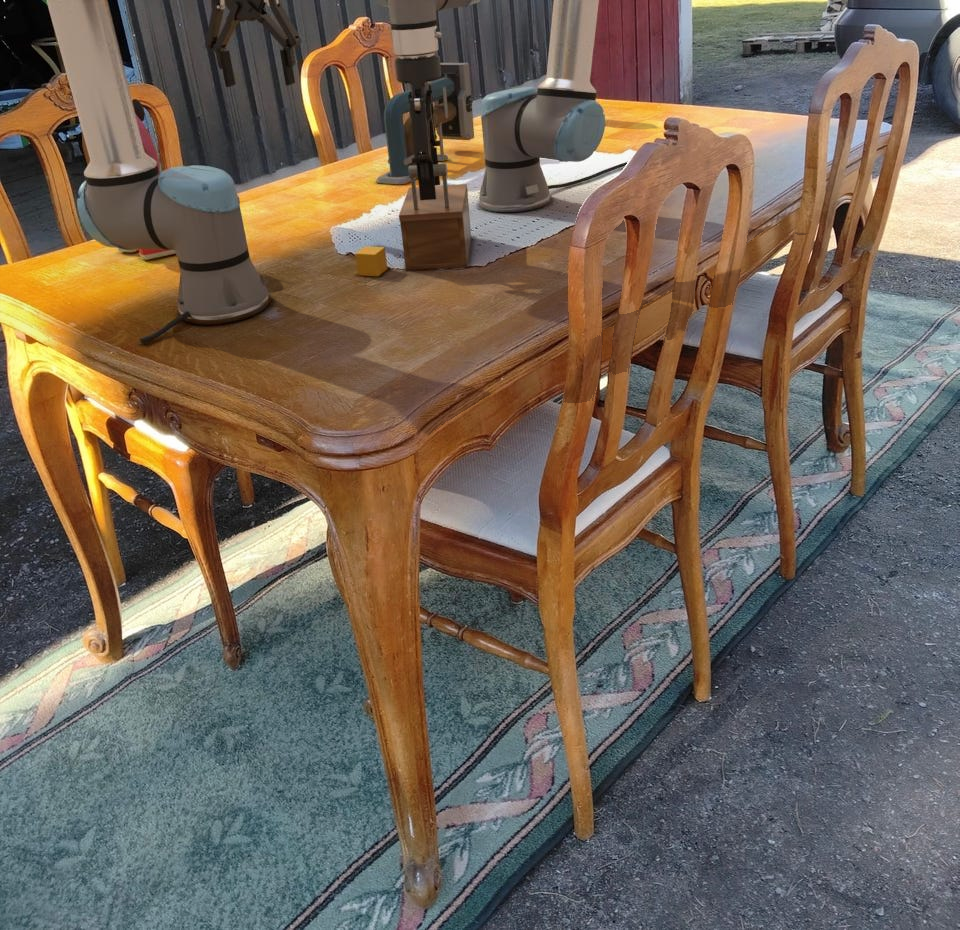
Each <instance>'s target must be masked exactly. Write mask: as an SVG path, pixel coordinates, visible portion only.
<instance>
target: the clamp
mask: <svg viewBox="0 0 960 930" xmlns="http://www.w3.org/2000/svg"><path fill="white" fill-rule="evenodd" d="M440 66H441V77H440V78H439V79H438V80H435V81H432V82H428V84H431V87H432V89H431V90H433V106H434V122H435V130H436V135H437V137H438V140H440V146H439V153H440V154H437V157H438V162H445V161H447V160H448V159H449V156H448V155H447V154H445V151H444V140H451V141H452V140H453V141H470V140H473V139H474V138H475V128H474V114H473V113H474V112H473V101H472V99H473V98H472V88H471V87H472V86H471V74H470V63H469V62H440ZM410 92H412V90H411V88H410V89H407V90H404V91H402V92H399V93H397V94H394V95H393V96H392V97H391V98H390V99H389V100H388V102H387V104H386V105H385V107H384V112H383V123H384V132H385V139H386V147H387V156H388V159H387V163H388V165H389V171H388V172H386V173H384V174H381V175H379V176H377V178H376V181H375V182H376V183H377V184H387V185H388V184H389V185H406V184H408V183H411V178H410V177H409V170H408V167H409V166H415V165H417V164H416V163H412V158H414V156H415V154H414V142H413V130H412V119H411V112H410V104H409V102H408V94H410ZM404 114H405V115H406V114H408V117H407V118H406V119H405V121H404ZM433 147H436V146H433ZM420 153H422V152H420ZM416 179H418V177H417V178H415V180H416Z"/></svg>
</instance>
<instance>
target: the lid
mask: <svg viewBox="0 0 960 930" xmlns="http://www.w3.org/2000/svg"><path fill="white" fill-rule="evenodd" d="M408 170H409V177H410V178H411V181H410V185H411V187H408V189H407V192H406V194H405V197H404V199H403V203H402V206H401V208H400V211H399V215H398V220H399V221H398V222H400V221H416V220H432V219H448V218H462V217H463V212H464V206H465V200H466V195H467V191H468V184H467V183H462V184H461V183H459V184H448V177H447V176H448V164H447V163H438V164H433V170H434V176H439V177H442V185H435V191H436V199H434V200H420V192H419V186H417V185H416V179H418V178H417V177H418V173H417V165H415V166H409V167H408ZM415 178H416V179H415Z"/></svg>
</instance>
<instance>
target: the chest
mask: <svg viewBox="0 0 960 930" xmlns="http://www.w3.org/2000/svg"><path fill="white" fill-rule="evenodd" d="M468 193H469V192H468V190H467V195H466V200H465V206H464V212H463V217H462V218H448V219H432V220H416V221H399V224H400V231H401V232H400V233H401V240H402V241H401V242H402V250H403V258H404V265H405V266H404V267H405V271H418V270H435V269H436V270H437V269H451V268H452V269H453V268H465V267H466V268H468V263H469V255H470V250H471V249H470V248H471V243H472V231H471V229H472V227H471V217H470V205H469V194H468Z"/></svg>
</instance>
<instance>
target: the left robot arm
mask: <svg viewBox="0 0 960 930" xmlns="http://www.w3.org/2000/svg"><path fill="white" fill-rule="evenodd" d="M46 4H47V7H48V12H49V15H50V19H51V22H52V26H53V29H54V33H55V37H56V40H57V44H58V47H59V51H60V54H61V55H60V56H61V58H62V63H63V66H64V69H65V73H66V77H67V80H68V85H69V87H70V91H71V96H72V98H73V101H74V106H75V109H76V113H77V116H78V121H79V124H80V128H81V133H82V132H83V135H84V139H85V143H86V146H87V150H88V153H89V157H90V163H89V164H88V165H87V166H86V168H85V169H84V171H83V176H84V179H85V180H84V181H83V182H82V183H81V185H80V186H79V189H78V193H77V194H78V196H79V198H77V199H76V205H77V211H78V212H77V213H78V215H79V219H80V221H81V224H82V226H83V228H84V229H85V231H86V232H87V233H88V235H89V236H90V237H91V238H92V239H93V240H95V241H96V242H97V243H99V244H100V245H102V246H105V247H108V248H114V249H118V248H120V249H124V250H133V249H159V250H175V251H176V254H175V255H176V258H177V262H178V266H179V283H178V294H177V310H178V314H179V315H178V316H177V317H175V318H174V319H172V320H171V321H169V322H168V323H166V324H165V325H164V326H163V327H161V328H160V329H158V330H156V331H155V332H153V333H151V334H149V335H146V336H144V337H141V338H139V342H140V343H141V344H146V343H148V342H151V341H153V340H155V339H157V338H159V337H160V336H162V335H164V334H165V333H166V332H168V331H169V330H171V329H172V328H173V327H175V326H176V325H178V324H179V323H181V322H182V321H184V322H186V323H189V324H193V325H202V326H203V325H204V326H205V325H206V326H210V325H222V324H230V323H233V322H239V321H241V320H245V319H248V318H251V317H253V316H256V315H258V314H260V312H263V311H264V310H265V309H266V308H267V307H268V306H269V305H270V296H269V291H268V290H267V287H266V285H269V283H268V277H267V276H266V277H265V276H262V275H260V274H259V272H258V270H257V269H256V267H255V265H254V264H253V262H252V260H251V257H250V251H249V246H248V241H247V236H246V232H245V226H244V225H245V224H244V220H243V216H242V210H241V206H240V204H241V199H240V196H239V194H238V191H237V188H236V184H235V181H234V179H233V177H232V176H231V175H230V174H229V173H227V171H225V170H223V169H221V168H217V167H214V166H208V165H198V164H197V165H195V164H194V165H187V166H185V165H180V166H173V167H169V168H166V169H164V170H162V171H160V173H159V169H158V165H157V161H156V160H154V159H153V158H151V157H150V156H148V155H147V154H146V153H145V151H144V147H143V143H142V139H141V135H140V131H139V127H138V123H137V119H136V115H135V111H134V107H133V103H132V100H133V99H132V95H131V91H130V87H129V83H128V79H127V74H126V70H125V67H124V63H123V59H122V58H123V57H122V54H121V50H120V46H119V42H118V38H117V34H116V30H115V26H114V22H113V17H112V13H111V9H110V6H109V1H108V0H46ZM210 4H211V5H210V6H211V14H210V17H209V23H208V27H207V33H206V38H205V43H204V47H205V49H206V50H211V51H214V53H215V57H216V62H217V66H218V68H219V70H222V75H223V79H224V85H225V88H230V87H233V86H235V85H236V79H235V73H234V69H233V63H232V58H231V53H230V50H227V48H226V47H227V46H228V44H229V41H230V39H231V37H232V35H233V33H234V31H235V29H236V27H237V25H238V23H240V22H246V21H248V22H254V21H257V22H258V23H260V24H261V25H262V26H263V27H264V28H265V29H266V31H267V32H268V33H269V34H270V35H271V36H272V37H273V38H274V39H275V40H276V41H277V43H278V45H280V46H281V47H282V48H281V49H279V53H280V59H281V64H282V65H281V66H282V71H283V77H284V83H285V86H291V85H294V84H295V83H296V80H295V79H296V78H295V73H294V66H296V56H295V49H294V48H295V47H296V46H298V45H301V44H302V37H301V36H300V35H299V33H298V31H297V30H296V28H295V26H294V25H293V22H292V21H291V19H290V18H289V15H288V14H287V12H286V11H285V9H284V7H283V5H282V1H281V0H210ZM266 5H267V7H268V8H270V10H271V13H272V14H273V16H274V17H275V19H276V21H277V22H278V24H277V23H276V22H275V20H274V19H273V18H272V16H271V14H270V13H269V12H268V11H267V9H265V6H266ZM225 8H227V9H228V11H229V12H228V14H227V16H226V18H225V23H224V25H223V27H222V29H221V25H222V22H223V21H222V20H223V15H224V10H225ZM220 30H221V31H220Z"/></svg>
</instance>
